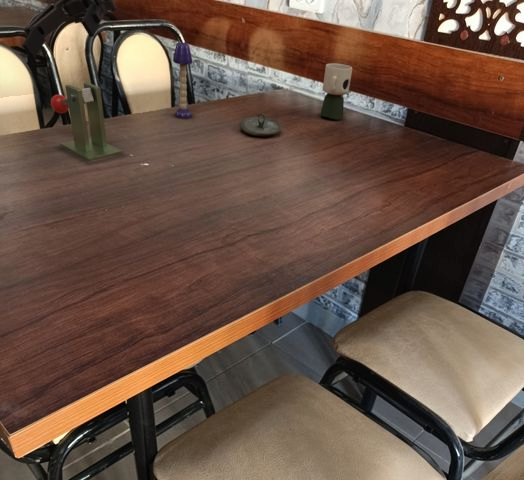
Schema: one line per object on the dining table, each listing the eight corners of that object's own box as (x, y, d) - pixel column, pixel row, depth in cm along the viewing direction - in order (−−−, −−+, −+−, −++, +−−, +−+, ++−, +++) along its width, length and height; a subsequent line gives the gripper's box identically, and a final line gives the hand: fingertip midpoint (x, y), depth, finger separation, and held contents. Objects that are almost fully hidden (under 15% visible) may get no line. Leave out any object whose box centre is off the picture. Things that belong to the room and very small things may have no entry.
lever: (51, 115, 108) (45, 97, 107) (66, 113, 110) (61, 94, 109) (82, 106, 99) (76, 85, 97) (98, 103, 101) (92, 83, 99)
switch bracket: (60, 148, 107) (49, 82, 99) (93, 142, 112) (85, 77, 104) (89, 164, 102) (79, 95, 94) (123, 156, 106) (116, 90, 98)
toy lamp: (196, 117, 132) (196, 44, 121) (184, 120, 129) (182, 45, 118) (183, 113, 134) (181, 40, 123) (170, 116, 131) (167, 42, 120)
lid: (272, 132, 132) (271, 111, 130) (289, 133, 124) (288, 111, 122) (234, 136, 129) (232, 114, 126) (249, 138, 120) (247, 115, 118)
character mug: (339, 125, 137) (348, 71, 128) (314, 120, 138) (321, 67, 130) (347, 115, 145) (356, 64, 136) (323, 111, 146) (330, 60, 138)
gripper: (148, -16, 103) (125, 40, 92) (51, 23, 111) (19, 79, 101) (128, -59, 97) (101, -4, 86) (27, -14, 105) (-10, 41, 95)
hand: (57, 41), depth 93 cm, fingers open, 13 cm apart
